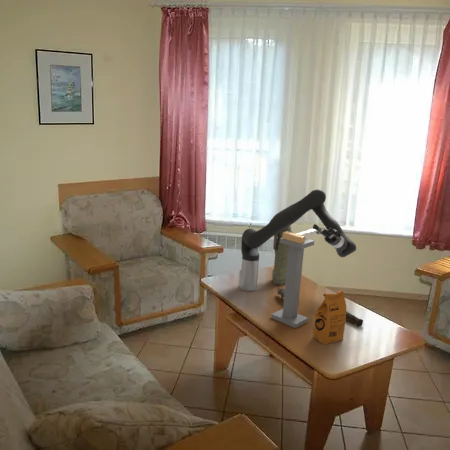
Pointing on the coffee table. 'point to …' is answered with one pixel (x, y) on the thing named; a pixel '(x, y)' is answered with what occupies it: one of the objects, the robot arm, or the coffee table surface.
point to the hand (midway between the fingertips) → (321, 227)
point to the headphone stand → (293, 285)
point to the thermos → (280, 258)
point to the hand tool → (354, 319)
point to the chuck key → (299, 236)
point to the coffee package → (330, 318)
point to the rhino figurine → (281, 292)
